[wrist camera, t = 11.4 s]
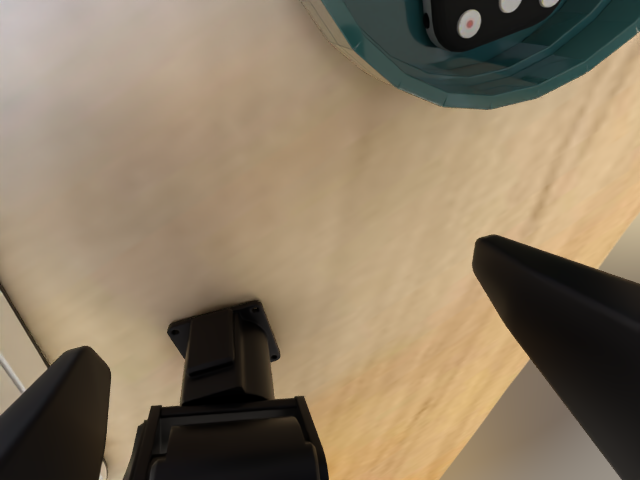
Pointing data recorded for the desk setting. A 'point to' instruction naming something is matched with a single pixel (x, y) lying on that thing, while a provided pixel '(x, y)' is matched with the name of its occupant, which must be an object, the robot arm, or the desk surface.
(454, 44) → the remote control
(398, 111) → the desk surface
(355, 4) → the bowl
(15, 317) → the laminator
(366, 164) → the desk surface
